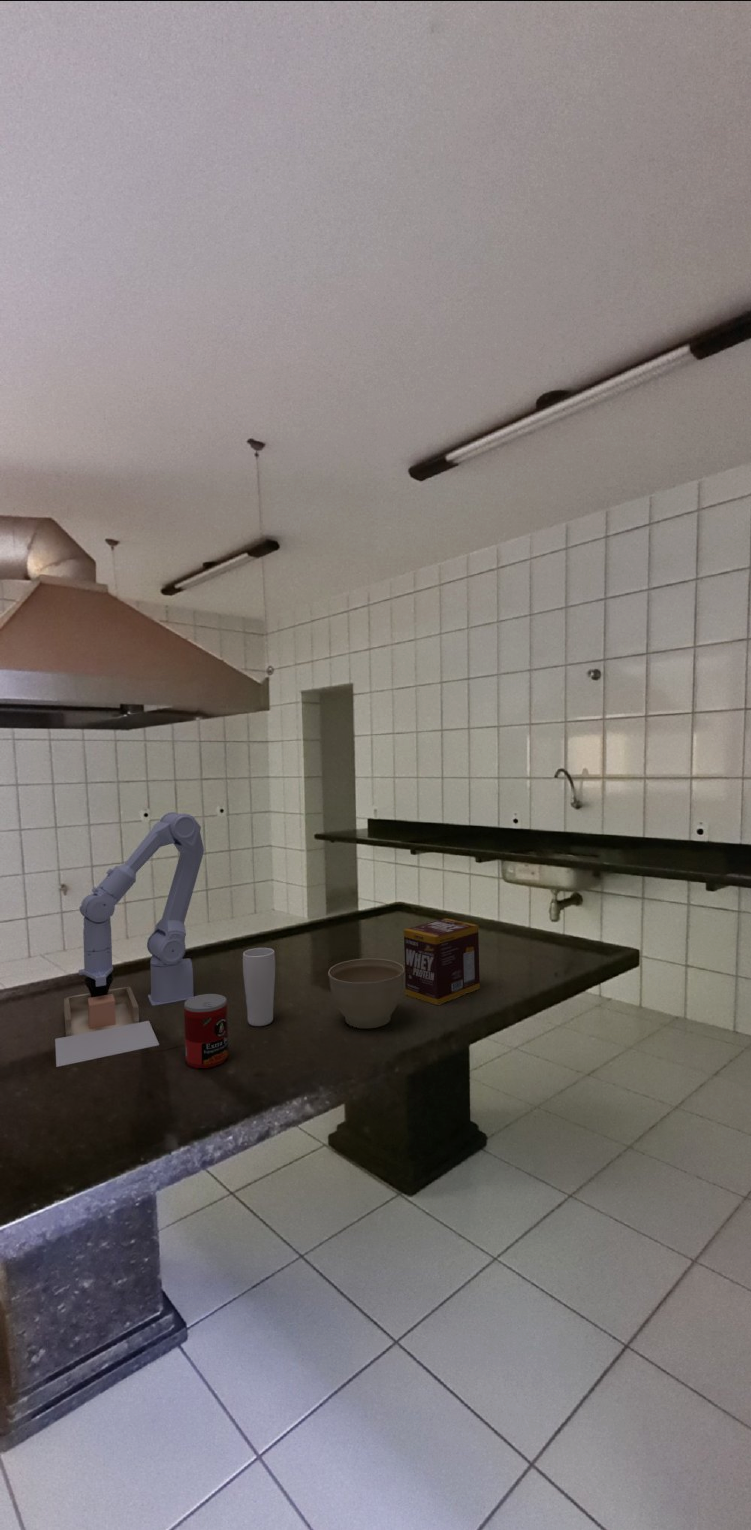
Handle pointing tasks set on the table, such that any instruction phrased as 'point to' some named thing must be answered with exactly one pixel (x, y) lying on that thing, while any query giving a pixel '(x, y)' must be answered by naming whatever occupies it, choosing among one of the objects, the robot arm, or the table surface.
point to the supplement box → (441, 960)
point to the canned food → (206, 1030)
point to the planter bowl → (366, 990)
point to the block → (101, 1011)
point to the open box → (79, 1011)
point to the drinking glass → (259, 984)
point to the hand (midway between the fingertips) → (99, 1009)
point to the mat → (104, 1043)
